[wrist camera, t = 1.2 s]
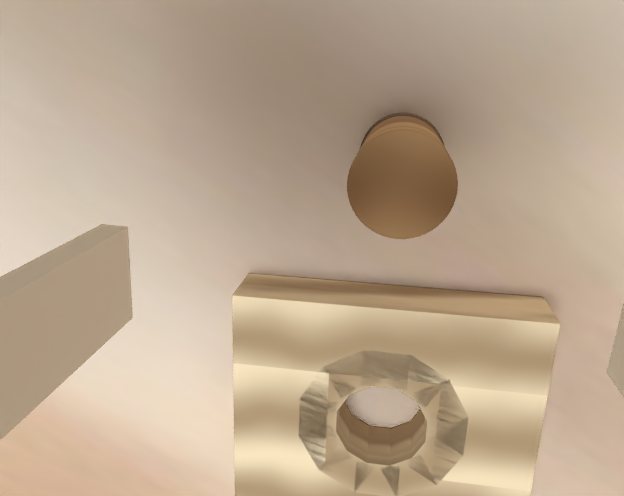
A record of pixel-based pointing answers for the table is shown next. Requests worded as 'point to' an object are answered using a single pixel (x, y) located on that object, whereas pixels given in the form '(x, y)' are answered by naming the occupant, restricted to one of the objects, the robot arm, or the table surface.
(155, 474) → the table surface
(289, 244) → the table surface
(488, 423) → the board
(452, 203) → the peg
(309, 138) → the table surface
